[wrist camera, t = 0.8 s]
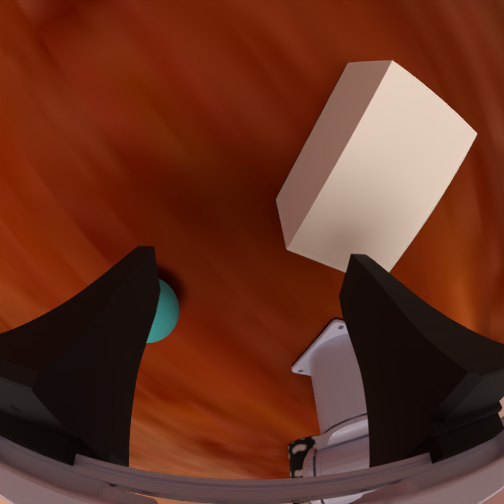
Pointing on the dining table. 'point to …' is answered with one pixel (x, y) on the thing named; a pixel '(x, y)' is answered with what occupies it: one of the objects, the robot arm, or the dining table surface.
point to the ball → (164, 314)
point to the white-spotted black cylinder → (299, 457)
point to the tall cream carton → (371, 167)
